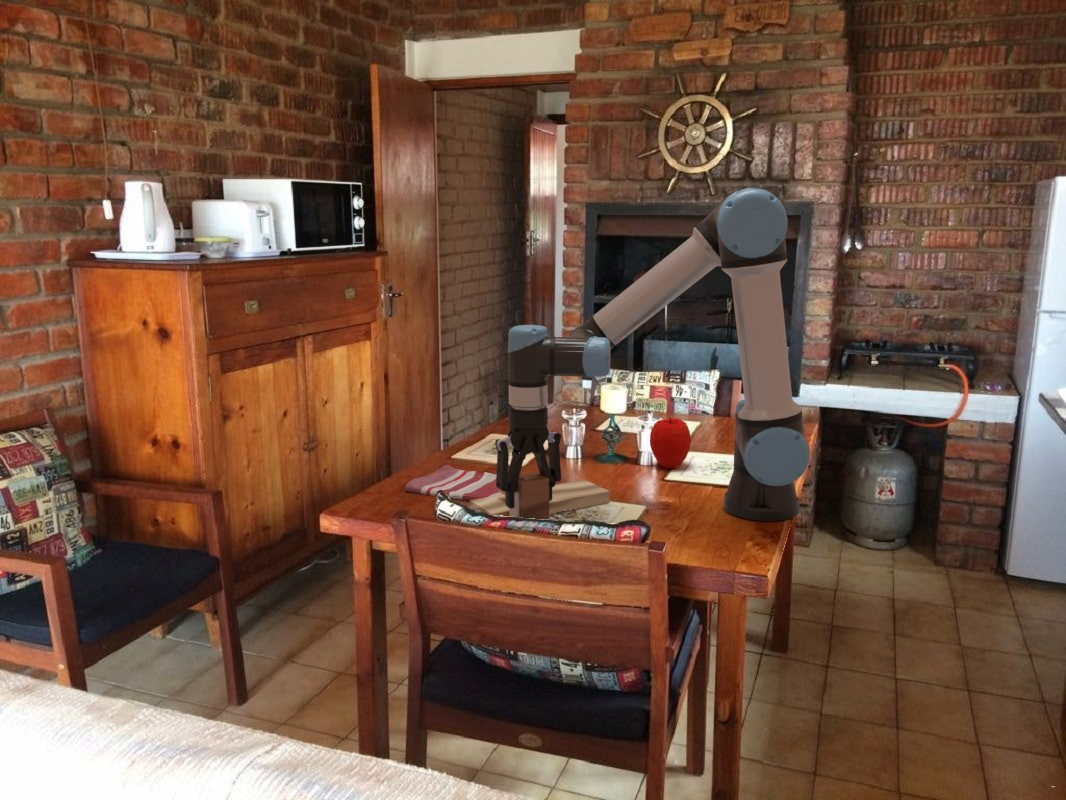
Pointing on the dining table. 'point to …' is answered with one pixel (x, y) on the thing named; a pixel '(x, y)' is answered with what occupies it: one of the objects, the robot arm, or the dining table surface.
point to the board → (562, 498)
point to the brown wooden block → (533, 496)
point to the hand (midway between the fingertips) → (529, 519)
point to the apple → (670, 442)
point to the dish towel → (456, 484)
